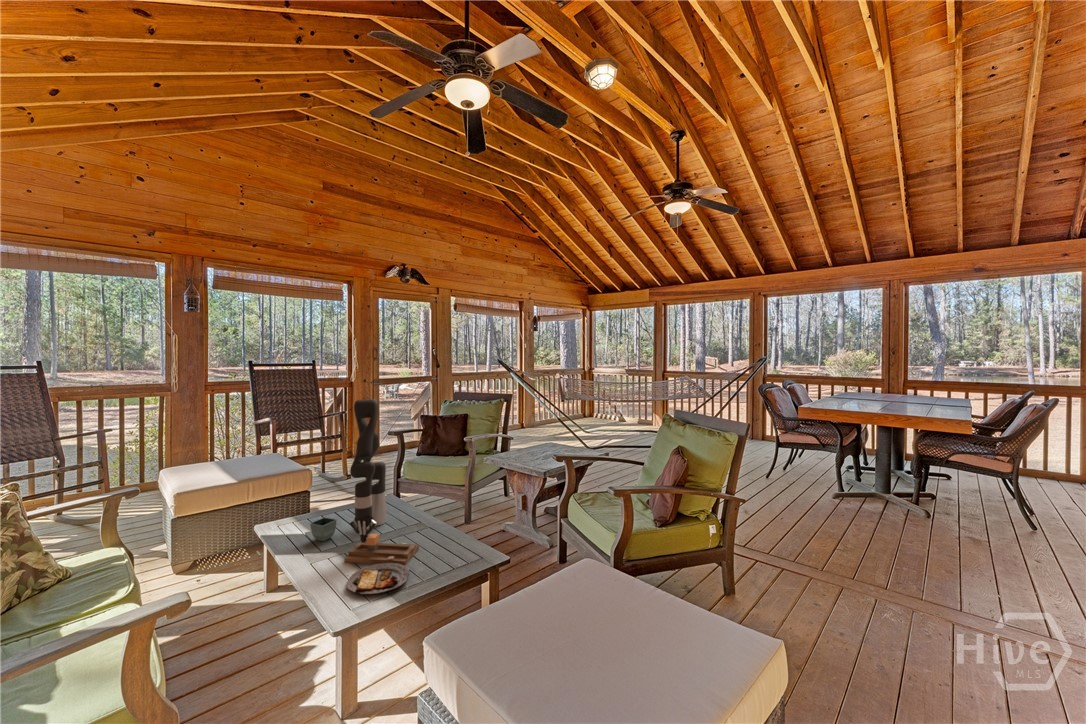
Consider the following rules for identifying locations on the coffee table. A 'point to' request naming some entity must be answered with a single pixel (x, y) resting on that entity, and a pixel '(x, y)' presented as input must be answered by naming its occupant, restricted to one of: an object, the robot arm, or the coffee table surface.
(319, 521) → the flower pot
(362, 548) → the console
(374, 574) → the food plate
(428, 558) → the coffee table surface
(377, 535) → the fader
